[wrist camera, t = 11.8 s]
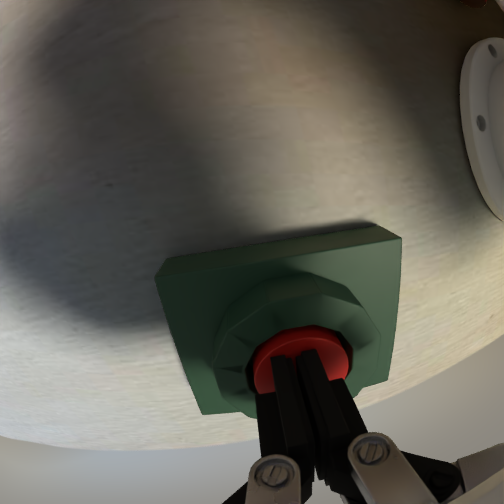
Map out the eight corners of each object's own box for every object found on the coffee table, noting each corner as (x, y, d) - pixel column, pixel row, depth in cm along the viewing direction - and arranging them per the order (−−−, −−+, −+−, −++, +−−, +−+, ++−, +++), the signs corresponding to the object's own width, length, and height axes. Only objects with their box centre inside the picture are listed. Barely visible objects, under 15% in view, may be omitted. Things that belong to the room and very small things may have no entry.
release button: (335, 304, 11) (350, 328, 9) (335, 371, 12) (346, 396, 11) (245, 321, 11) (247, 347, 9) (257, 385, 12) (260, 413, 11)
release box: (379, 224, 13) (426, 251, 9) (373, 357, 15) (401, 402, 12) (165, 258, 13) (140, 298, 9) (204, 387, 15) (199, 442, 12)
